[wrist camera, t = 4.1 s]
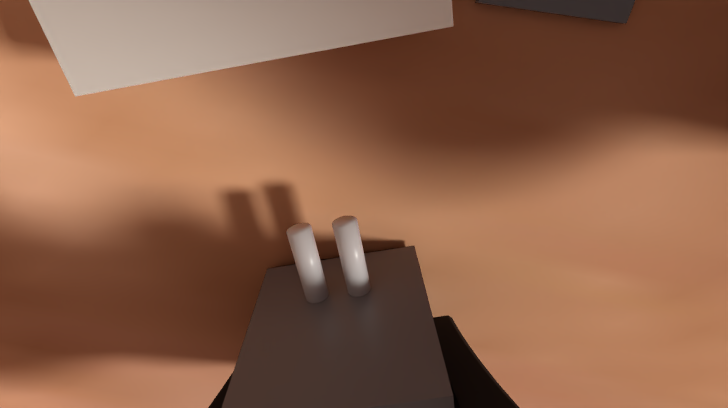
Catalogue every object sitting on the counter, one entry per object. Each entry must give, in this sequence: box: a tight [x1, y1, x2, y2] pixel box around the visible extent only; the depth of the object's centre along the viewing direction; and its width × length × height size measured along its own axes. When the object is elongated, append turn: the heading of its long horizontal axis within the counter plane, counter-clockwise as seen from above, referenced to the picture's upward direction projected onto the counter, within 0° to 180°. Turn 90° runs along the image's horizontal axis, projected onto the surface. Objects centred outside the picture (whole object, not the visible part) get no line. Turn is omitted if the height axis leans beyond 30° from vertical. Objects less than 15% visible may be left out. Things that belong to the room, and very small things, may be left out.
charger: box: [222, 216, 454, 408], centre depth 10 cm, size 6×4×5 cm
